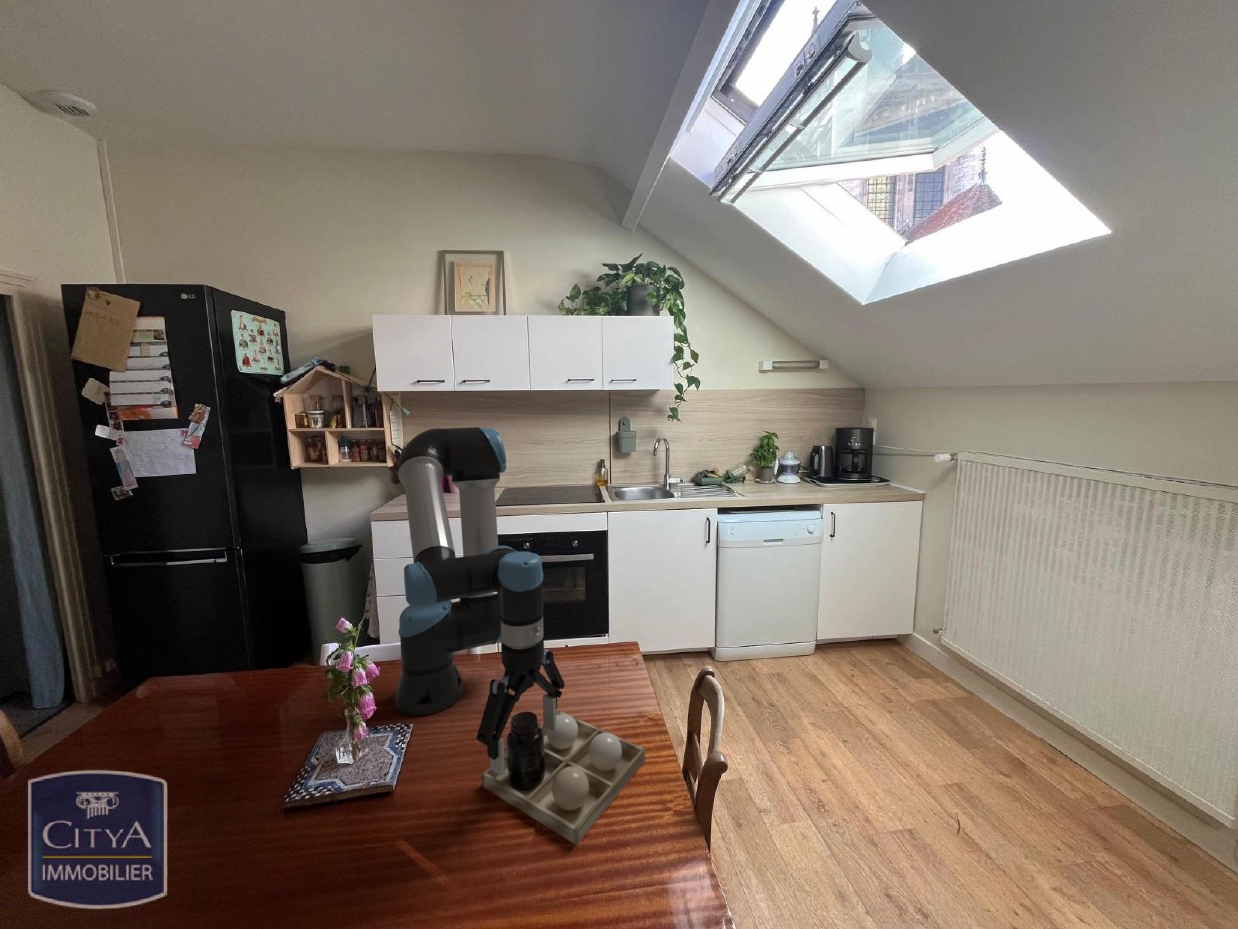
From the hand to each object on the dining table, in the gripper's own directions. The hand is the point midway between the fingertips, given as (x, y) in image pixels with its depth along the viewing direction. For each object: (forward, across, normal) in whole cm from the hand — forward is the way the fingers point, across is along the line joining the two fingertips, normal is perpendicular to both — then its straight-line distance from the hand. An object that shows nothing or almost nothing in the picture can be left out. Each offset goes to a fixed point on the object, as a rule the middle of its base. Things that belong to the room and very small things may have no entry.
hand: (525, 748), depth 90 cm
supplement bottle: (+6, 0, 0) cm, 6 cm away
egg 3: (+6, +11, -11) cm, 16 cm away
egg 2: (+6, 0, -11) cm, 12 cm away
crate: (+7, +5, -5) cm, 10 cm away
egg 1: (+6, +11, 0) cm, 12 cm away
